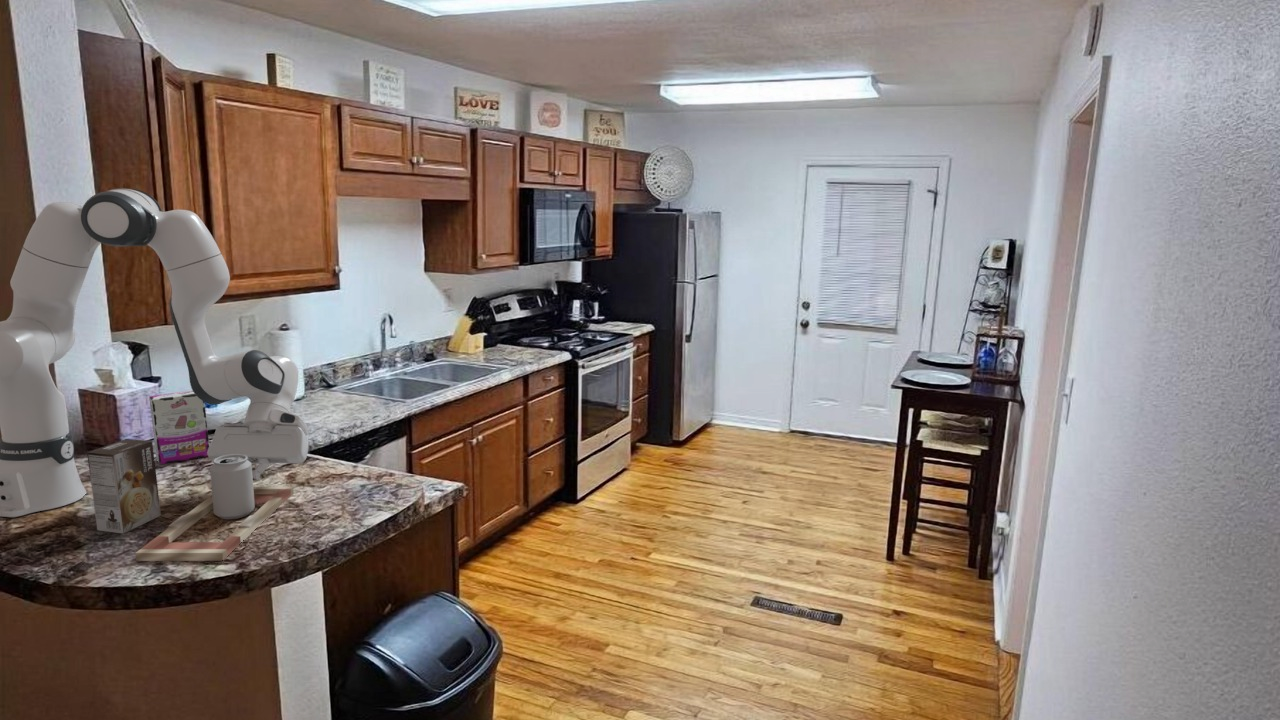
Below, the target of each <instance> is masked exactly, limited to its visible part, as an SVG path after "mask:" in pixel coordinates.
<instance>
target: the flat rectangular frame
mask: <svg viewBox="0 0 1280 720" xmlns="http://www.w3.org/2000/svg"><path fill="white" fill-rule="evenodd" d="M253 490H254V503H255V505H262V506H261V507H260V508H259V509H257V511H255V512H254V513H253V514H252V515H250V514H249V516H248V517H246V518H245V519H244V520H243V521H242V522H241V523H240V524H238V527H237V529H235V531H233V532H232V533H231V534H230V535H229V536H228V537H227V538H226V539H225V540H223V541H222V542H220V541H217V542H216V541H214V542H211V541H210V542H209V541H207V542H206V541H205V542H204V541H203V542H202V541H201V542H198V541H197V542H192V541H191V542H189V541H185V542H181V541H180V542H173V541H175V540H176V539H177V538H178V537H180V536H181V535H182V534H184V533H185V532H186V531H187V530H188V529H190V528H191V527H192V526H194V525H195V524H196V523H197V522H198V521H199V520H201V519H202V518H204V517H205V516H206V515H207V514H209V513H210V512H212V511H213V510H214V509H213V498H212V494H211V495H209V496H208V497H207V498H206V499H205V500H203V501H202V502H201V503H200V504H198V505H197V506H195V507H194V508H193V509H191V510H190V511H189V512H187V513H185V514H182V515H181V516H179V517H178V518H177V519H175V520H174V521H173V522H172V523H170V524H169V525H168V528H166V529H165V530H164V531H162V532H161V533H160V534H159V535H157V536H156V537H154V538H153V539H152V540H150V541H148V543H147V544H146V545H144V546H143V547H141V548H139V550H137V551H136V552H135V553H134V554H135V555H134V556H135V561H136V562H175V561H176V562H185V561H187V562H195V561H197V562H198V561H199V562H201V561H206V562H207V561H208V562H211V561H213V562H218V561H221V562H222V560H223V561H224V560H226V559H227V558H228V557H229V556H228V555H229V554H230V553H231V552H232V551H233V550H234V549H235V548H236V547H237V548H238V547H239V546H240V545H241V544H242V543H243V542H244V541H246V539H248V538H249V537H250V536H251V533H252V532H253V531H254V530H255V529H256V528H257V527H258V526H259V525H260V524H261V523H262V522H263V521H264V520H265V519H266V518H267V517H268V518H269V517H270V516H271V515H273V514H274V513H275V512H276V509H277V508H278V507H279V506H280V505H281V504H282V503H283V504H284V503H285V502H286V501H287V500H288V499H289V498H290V497H292V495H294V494H295V492H294V486H253ZM283 504H282V505H283ZM282 505H281V506H282ZM281 506H280V507H281ZM280 507H279V508H280ZM279 508H278V509H279ZM278 509H277V510H278ZM270 514H271V515H270ZM269 515H270V516H269ZM268 518H267V519H268ZM267 519H266V520H267ZM266 520H265V521H266ZM265 521H264V522H265ZM264 522H263V523H264ZM263 523H262V524H263ZM262 524H261V525H262ZM261 525H260V526H261ZM260 526H259V527H260ZM259 527H258V528H259ZM258 528H257V529H258ZM257 529H256V530H257ZM256 530H255V531H256ZM255 531H254V532H255ZM254 532H253V533H254ZM253 533H252V534H253ZM243 540H244V541H243ZM241 542H242V543H241ZM240 543H241V544H240ZM239 544H240V545H239ZM237 548H236V549H237ZM236 549H235V550H236ZM235 550H234V551H235ZM234 551H233V552H234ZM233 552H232V553H233ZM232 553H231V554H232ZM231 554H230V555H231ZM227 556H228V557H227Z"/></svg>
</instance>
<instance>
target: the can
mask: <svg viewBox="0 0 1280 720" xmlns="http://www.w3.org/2000/svg"><path fill="white" fill-rule="evenodd" d="M247 458H248V457H247V456H246V455H242V454H231V455H224V456H221V457H218V458H216V459H214V460H213V461H212V463H213V464H212V465H211V466H210V469H209V472H210V473H209V474H210V475H209V476H210V485H211V495H212V498H213V509H212V510H213V514H214V515H215V516H217V517H219V519H222V520H236V519H240V518H243V517H246V516H248V515H250V514H251V513H252V511H253V510H254V509H255V507H256V504H255V503H254V490H253V487H254V481H253V476H252V471H253V468H252V466H253V463H251V462H250V461H248V460H247Z"/></svg>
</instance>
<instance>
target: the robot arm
mask: <svg viewBox="0 0 1280 720" xmlns="http://www.w3.org/2000/svg"><path fill="white" fill-rule="evenodd" d="M101 244H103V245H107V246H110V247H111V246H112V247H122V248H123V247H144V246H148V247H150V248H151V249H153V250H154V251H155V253H156V255H157V256H158V258H159V259H160V262H161V264H162V266H163V268H164V270H165V272H166V274H167V277H168V280H169V283H170V288H171V289H170V290H171V297H170V299H169V303H168V304H169V311H170V317H171V320H172V323H173V326H174V330H175V332H176V334H177V338H178V342H179V344H180V346H181V347H180V348H181V350H182V351H181V352H182V353H183V356H184V359H185V363H186V366H187V370H188V371H187V372H188V376H189V378H188V379H189V384H190V388H191V391H193V392H194V393H195V395H196V396H197V397H198V398H199V399H201V400H202V401H204V402H205V403H206V404H208V405H210V406H211V405H212V406H214V405H215V406H216V405H217V406H218V405H221V404H223V403H227V402H230V401H231V400H235V399H239V398H243V397H244V398H245V397H246V398H248V399H249V400H250V402H249V405H248V407H247V410H246V414H245V416H244V421H243V422H236V423H235V422H234V423H232V422H225V423H224V424H221V425H219V426H217V428H215V432H214V434H213V437H212V439H211V442H209V448H208V451H207V455H208V456H207V457H208V458H209V459H210V460H211V462H213V460H214V459H216V458H218V457H221V456H224V455H231V454H242V455H246V456H247V457H248V458H247V460H248V461H250V462H251V463H252V464H259V465H258V466H257V467H256V468H255V470H252V476H253V482H259V481H260V477H261V475H262V474H263V473H264V472H265V471H266V470H267V469H268V467H269V464H302V463H304V462H305V460H306V459H307V456H308V452H309V439H308V437H307V436H308V434H309V427H308V426H307V424H306V422H305V421H304V419H303V418H302V417H301V416H300V415H297V414H293V413H291V407H292V404H293V403H294V401H295V398H296V393H297V389H298V384H299V370H298V366H297V365H296V363H295V362H293V361H292V360H291V359H289V358H288V357H285V356H283V355H282V356H281V355H272V356H269V355H268V354H267V353H265V352H263V351H261V350H258V349H257V350H256V349H253V350H246V351H241V352H239V353H234V354H231V355H227V356H224V357H219V356H218V355H216V354H215V351H214V348H213V346H212V342H211V340H210V339H211V338H210V335H209V333H208V330H207V326H206V315H207V312H208V311H209V309H210V308H211V307H212V306H213V305H214V304H215V303H216V302H218V301H219V300H220V299H221V298H222V297H223V295H224V294H225V293H226V292H227V290H228V287H229V285H230V281H231V276H230V275H231V274H230V270H229V268H228V264H227V262H226V261H225V258H224V256H223V254H222V252H221V249H220V248H219V245H218V244H217V242H216V240H215V238H214V236H213V235H212V234H211V232H210V230H209V229H208V227H207V226H206V225H205V223H204V222H203V220H202V219H201V218H200V217H199V215H198V214H197V213H195V212H193V211H192V210H189V209H188V210H187V209H172V210H168V211H163V210H162V207H161V205H160V204H159V202H158V201H157V200H156V199H155V198H154V197H153V196H152V195H150V194H148V193H147V192H145V191H142V190H140V189H134V188H113V189H109V190H106V191H101V192H97V193H95V194H94V195H92V196H90V197H89V198H88V199H87V200H86V202H85V203H84V204H83V205H79V204H76V203H72V202H66V201H58V202H57V201H56V202H52V203H49V204H47V205H46V206H44V207H43V209H42V210H41V212H40V213H39V215H38V216H37V217H36V219H35V221H34V223H33V224H32V226H31V228H30V230H29V232H28V234H27V236H26V238H25V241H24V243H23V246H22V248H21V251H20V254H19V257H18V259H17V262H16V265H15V268H14V271H13V272H12V273H13V274H12V276H11V279H10V282H9V283H10V284H9V285H10V287H11V290H12V292H13V299H12V301H13V302H12V309H11V312H10V314H9V316H8V318H7V319H6V320H2V321H0V433H1V434H0V435H1V438H0V517H5V518H17V517H23V516H25V515H29V514H32V513H36V512H40V511H41V512H42V511H47V510H53V509H56V508H61V507H63V506H66V505H70V504H73V503H75V502H77V501H79V500H81V499H82V498H84V497H85V496H86V495H85V494H87V490H86V488H85V486H84V484H83V482H82V481H81V478H80V475H79V471H78V469H77V466H76V461H75V458H74V457H75V446H74V445H75V444H74V437H73V432H72V430H70V428H69V427H70V426H69V420H68V419H69V418H68V411H67V405H66V404H67V402H66V397H65V395H64V393H63V392H62V391H60V390H59V389H58V388H57V386H56V385H55V381H54V380H53V377H52V375H51V372H50V369H49V366H50V365H51V364H53V363H56V362H57V361H60V360H61V359H62V358H63V357H64V356H65V355H67V353H68V352H69V351H70V350H71V349H72V348H73V346H74V344H75V340H76V334H75V331H74V330H75V329H74V323H75V314H76V307H77V302H78V298H79V295H80V293H81V289H82V287H83V285H84V281H85V279H86V275H87V273H88V270H89V268H90V265H91V263H92V261H93V260H92V259H93V257H94V254H95V253H96V250H97V248H98V247H99V246H100V245H101ZM84 495H85V496H84ZM83 496H84V497H83Z"/></svg>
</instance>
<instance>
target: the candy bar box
mask: <svg viewBox="0 0 1280 720" xmlns="http://www.w3.org/2000/svg"><path fill="white" fill-rule="evenodd" d="M148 398H149V405H150V406H149V407H150V414H151V416H150V417H151V424H152V431H153V432H152V435H153V441H154V448H155V450H154V451H155V457H156V460H158V461H157V462H158V464H159V465H165V464H171V463H177V462H181V461H182V462H183V461H188V460H195V459H201V458H205V457H206V458H207V457H209V456H208V455H207V451H208V448H209V446H210V441H209V431H208V424H207V423H208V422H207V421H208V420H207V413H206V412H207V410H206V404H205V402H204V401H202V400H201V399H199V398H198V397H197V396H196V395H195V393H194V392H193V390H188V391H187V390H186V391H178V392H172V393H165V394H156V395H149V397H148Z"/></svg>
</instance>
